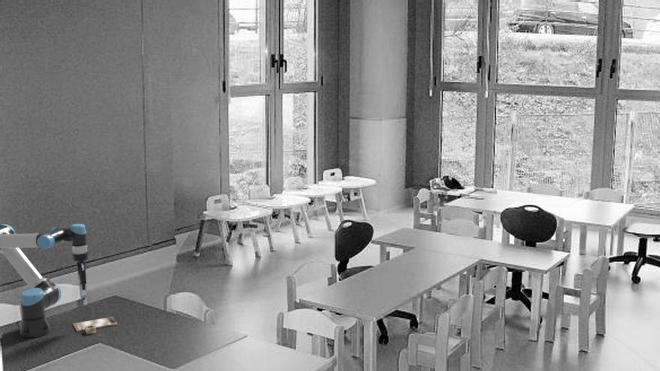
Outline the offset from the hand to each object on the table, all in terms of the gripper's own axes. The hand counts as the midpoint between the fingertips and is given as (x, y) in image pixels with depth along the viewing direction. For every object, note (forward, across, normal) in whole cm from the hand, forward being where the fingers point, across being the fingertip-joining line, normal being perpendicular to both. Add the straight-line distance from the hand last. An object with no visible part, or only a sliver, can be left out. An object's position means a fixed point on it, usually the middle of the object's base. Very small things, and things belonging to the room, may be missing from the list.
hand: (83, 294), depth 441 cm
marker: (+3, 0, 0) cm, 3 cm away
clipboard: (+18, 0, -5) cm, 19 cm away
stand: (+18, -11, -1) cm, 21 cm away
